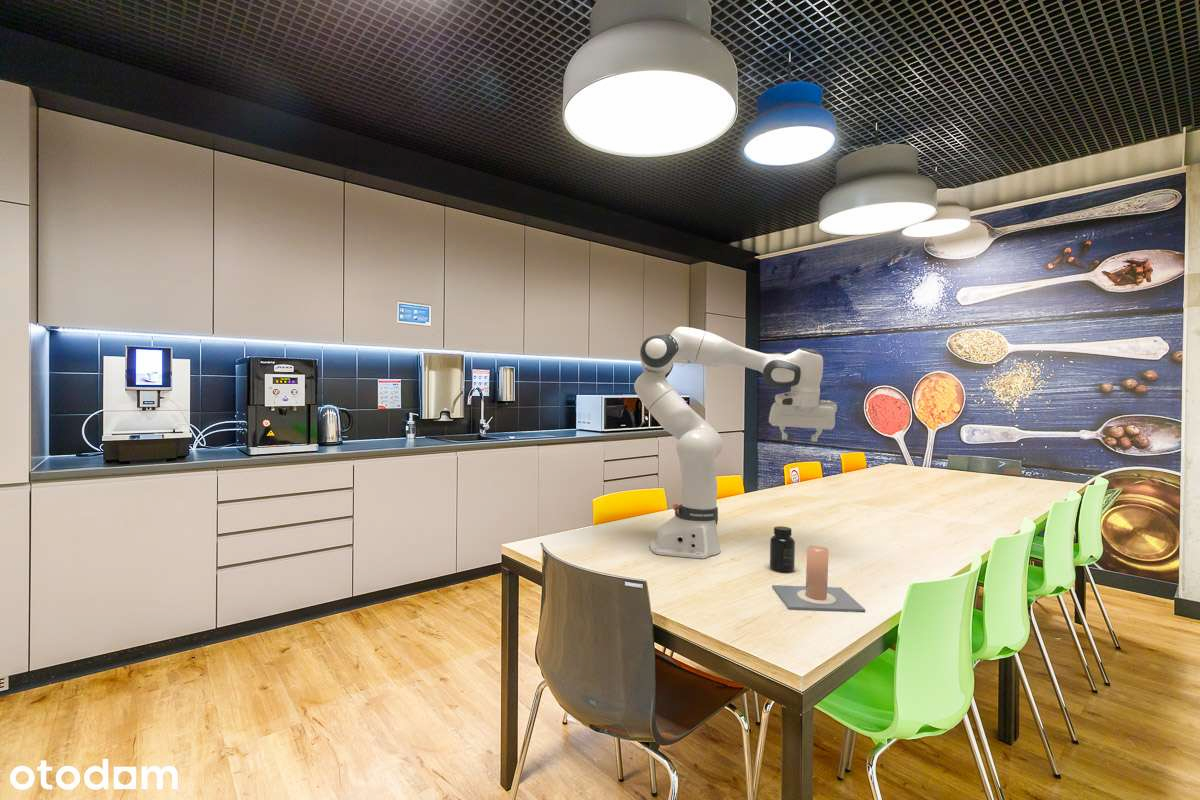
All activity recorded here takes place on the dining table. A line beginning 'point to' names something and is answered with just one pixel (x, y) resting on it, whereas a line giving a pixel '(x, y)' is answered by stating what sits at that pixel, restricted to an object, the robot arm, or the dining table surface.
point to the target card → (799, 601)
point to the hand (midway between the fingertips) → (799, 440)
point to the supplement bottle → (782, 550)
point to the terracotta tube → (817, 572)
